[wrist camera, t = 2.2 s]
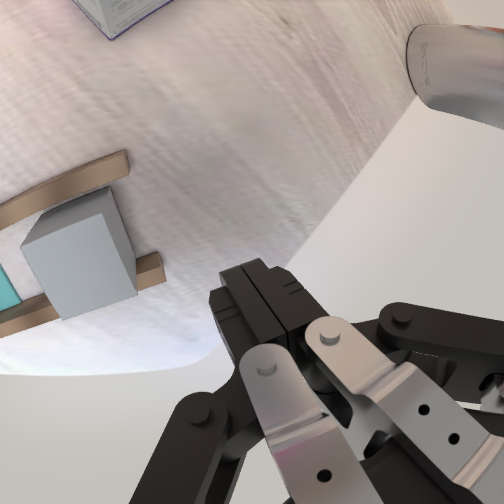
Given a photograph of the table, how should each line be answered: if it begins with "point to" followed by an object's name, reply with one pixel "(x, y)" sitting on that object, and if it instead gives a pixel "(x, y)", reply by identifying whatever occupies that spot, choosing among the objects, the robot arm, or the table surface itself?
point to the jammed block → (82, 255)
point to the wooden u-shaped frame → (47, 194)
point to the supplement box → (118, 13)
